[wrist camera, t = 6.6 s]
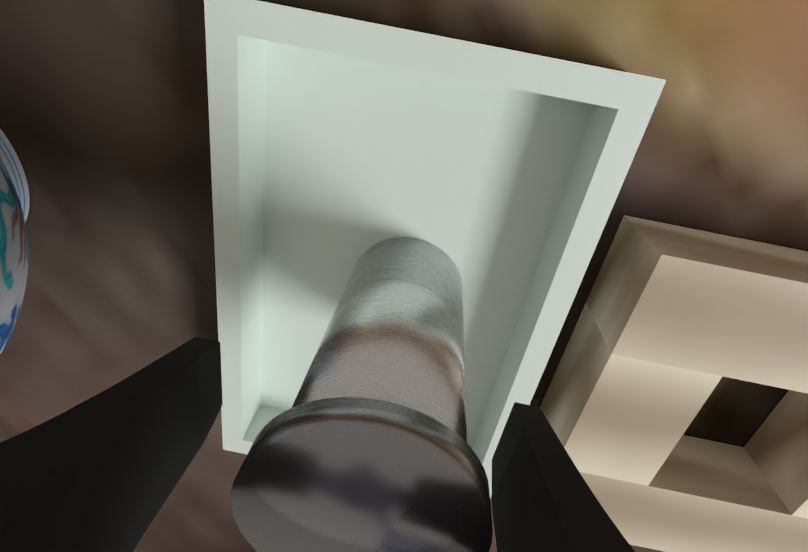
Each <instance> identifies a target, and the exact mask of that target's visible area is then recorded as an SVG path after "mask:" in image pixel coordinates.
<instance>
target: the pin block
mask: <svg viewBox="0 0 808 552" xmlns="http://www.w3.org/2000/svg"><path fill="white" fill-rule="evenodd" d="M722 377H728V378H733V379H738V380H743V381H748V382H753V383H758V384H763V385H768V386H773V387H778V388H783V389H788V390H789V391H788V392H787V393H786V394H785V396H784V397H783V398H782V400H781V401H780V402H779V403H778V405H777V406H776V407H775V408H774V410H773V411H772V412H771V413H770V415H769V416H768V417H767V418H766V420H765V421H764V422H763V423H762V425H761V426H760V427H759V428H758V430H757V431H756V432H755V434H754V435H753V436H752V437H751V439H750V440H749V441H748V442H747V444H746V445H745V446H744V447H740V446H736V445H731V444H726V443H721V442H716V441H711V440H706V439H701V438H696V437H691V436H686V435H683V434H684V432H685V431H686V429H687V428H688V426H689V425H690V424H691V422H692V421H693V419H694V418H695V416H696V415H697V413H698V412H699V410H700V409H701V407H702V406H703V405H704V403H705V402H706V400H707V399H708V397H709V396H710V394H711V393H712V391H713V390H714V388H715V387H716V385H717V384H718V383H719V381H720V380H721V378H722ZM540 409H541V410H542V412H543V413H544V415H545V417H546V418H547V420H548V422H549V423H550V425H551V427H552V428H553V430H554V432H555V433H556V435H557V437H558V438H559V440H560V442H561V443H562V445H563V446H564V448H565V450H566V451H567V453H568V455H569V456H570V458H571V460H572V461H573V463H574V464H575V466H576V468H577V469H578V471H579V472H580V474H581V475H582V477H583V478H584V480H585V481H586V483H587V485H588V486H589V488H590V489H591V491H592V492H593V494H594V495H595V497H596V498H597V500H598V501H599V503H600V504H601V506H602V507H603V509H604V510H605V511H606V513H607V514H608V516H609V517H610V518H611V520H612V521H613V523H614V524H615V525H616V527H617V528H618V530H619V531H620V532H621V534H622V535H623V536H624V538H625V539H626V541H627V542H628V543H629V544H630V545H635V546H640V547H645V548H650V549H655V550H660V551H665V552H808V251H803V250H798V249H793V248H788V247H783V246H778V245H773V244H767V243H762V242H757V241H752V240H747V239H742V238H737V237H732V236H727V235H722V234H717V233H712V232H707V231H702V230H697V229H692V228H687V227H682V226H677V225H671V224H666V223H661V222H656V221H651V220H646V219H641V218H636V217H631V216H626V215H624V216H623V219H622V221H621V223H620V225H619V228H618V230H617V232H616V235H615V237H614V239H613V241H612V244H611V246H610V248H609V251H608V253H607V255H606V257H605V260H604V262H603V264H602V266H601V269H600V271H599V273H598V276H597V278H596V280H595V282H594V285H593V287H592V289H591V292H590V294H589V296H588V298H587V301H586V303H585V305H584V308H583V310H582V312H581V314H580V317H579V319H578V321H577V324H576V326H575V328H574V330H573V333H572V335H571V337H570V340H569V342H568V344H567V346H566V349H565V351H564V353H563V355H562V358H561V360H560V362H559V365H558V367H557V369H556V371H555V374H554V376H553V378H552V381H551V383H550V385H549V387H548V390H547V392H546V394H545V397H544V399H543V401H542V403H541V406H540Z"/></svg>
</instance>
